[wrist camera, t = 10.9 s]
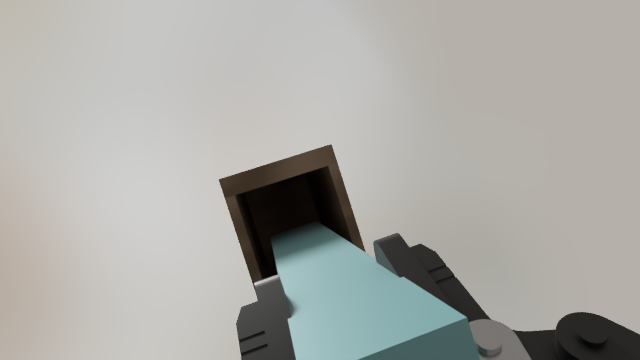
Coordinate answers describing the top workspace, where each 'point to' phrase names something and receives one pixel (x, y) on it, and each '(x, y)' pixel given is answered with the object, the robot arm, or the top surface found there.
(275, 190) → the walnut box stand
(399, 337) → the teal bar
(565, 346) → the robot arm
